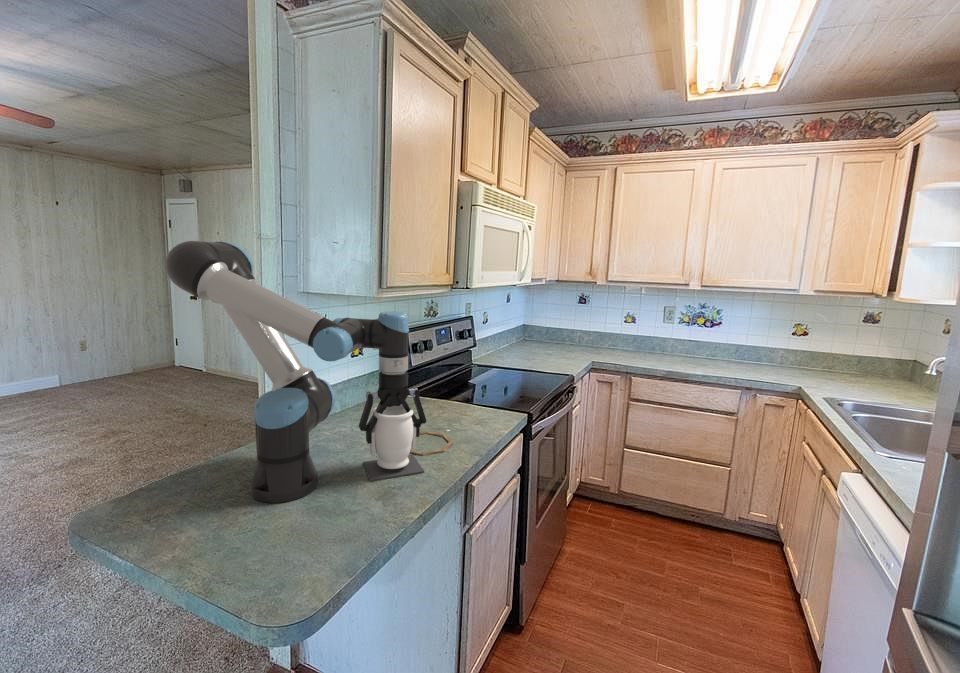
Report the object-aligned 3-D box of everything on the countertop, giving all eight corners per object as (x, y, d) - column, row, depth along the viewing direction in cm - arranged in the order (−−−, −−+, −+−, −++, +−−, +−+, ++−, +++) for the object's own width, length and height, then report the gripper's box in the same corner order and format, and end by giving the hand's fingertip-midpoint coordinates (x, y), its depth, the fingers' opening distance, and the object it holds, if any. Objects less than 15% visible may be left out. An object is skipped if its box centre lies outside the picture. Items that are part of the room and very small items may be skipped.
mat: (371, 481, 115) (371, 479, 115) (363, 463, 125) (363, 461, 125) (424, 472, 121) (424, 471, 121) (412, 455, 131) (412, 454, 131)
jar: (365, 465, 121) (364, 411, 118) (389, 451, 130) (390, 401, 127) (397, 475, 116) (397, 419, 113) (420, 460, 125) (421, 408, 122)
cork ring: (405, 458, 129) (405, 456, 129) (392, 436, 144) (392, 435, 144) (459, 450, 136) (459, 448, 136) (441, 430, 151) (441, 429, 151)
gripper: (350, 378, 110) (351, 463, 114) (439, 371, 120) (438, 450, 124) (346, 370, 117) (347, 451, 121) (430, 365, 126) (429, 440, 130)
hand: (393, 451), depth 122 cm, fingers closed on jar, 10 cm apart
